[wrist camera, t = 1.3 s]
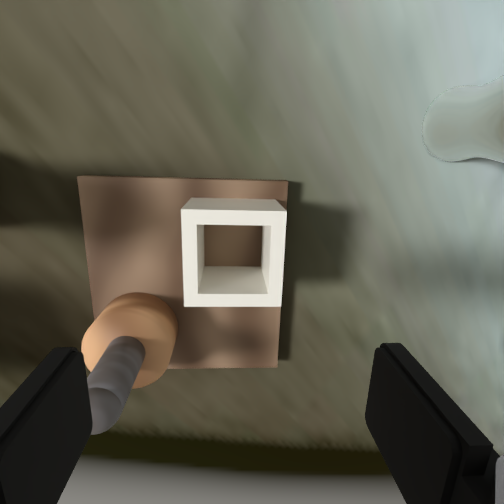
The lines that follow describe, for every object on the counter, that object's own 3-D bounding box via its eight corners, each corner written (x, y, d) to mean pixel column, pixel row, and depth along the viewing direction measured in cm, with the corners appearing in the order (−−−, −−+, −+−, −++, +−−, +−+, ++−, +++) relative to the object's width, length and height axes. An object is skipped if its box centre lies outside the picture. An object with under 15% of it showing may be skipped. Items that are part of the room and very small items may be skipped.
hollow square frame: (275, 199, 28) (286, 211, 22) (271, 277, 30) (281, 306, 24) (191, 197, 27) (180, 209, 21) (193, 276, 29) (184, 306, 23)
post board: (285, 180, 29) (326, 200, 16) (275, 358, 34) (300, 476, 21) (85, 175, 28) (-35, 192, 15) (105, 360, 33) (29, 486, 20)
